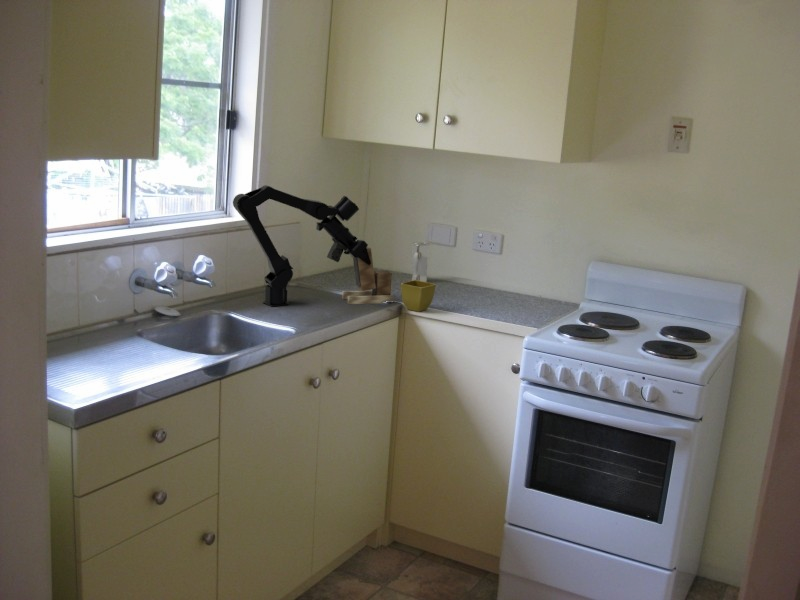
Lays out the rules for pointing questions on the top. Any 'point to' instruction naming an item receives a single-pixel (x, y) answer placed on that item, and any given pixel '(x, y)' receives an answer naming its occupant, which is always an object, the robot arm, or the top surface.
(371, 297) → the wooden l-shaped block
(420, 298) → the flower pot
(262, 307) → the top surface
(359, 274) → the finger block
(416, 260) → the soap dispenser bottle
